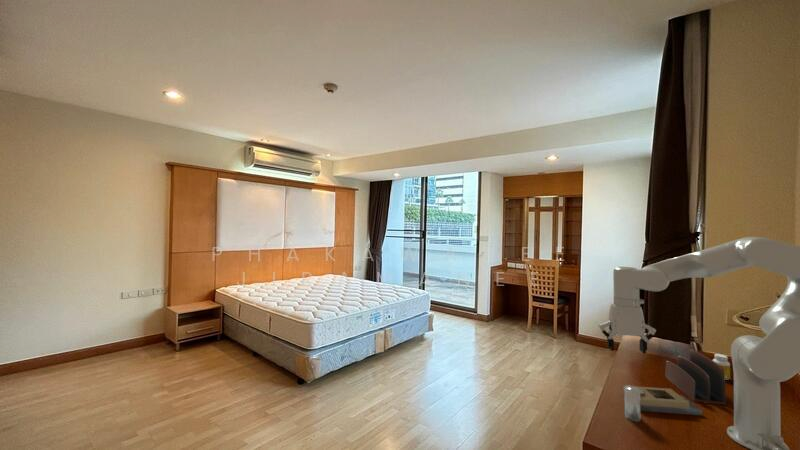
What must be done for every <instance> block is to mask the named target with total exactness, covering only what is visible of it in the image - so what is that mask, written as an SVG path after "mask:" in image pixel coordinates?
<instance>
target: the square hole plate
mask: <svg viewBox="0 0 800 450" xmlns="http://www.w3.org/2000/svg"><path fill="white" fill-rule="evenodd" d="M625 386H626V385H623V386H622V387H623V388H622V389H623V391H622V392H623V394H622V395H623V397H624V398H625ZM634 386H635V385H634ZM635 387H637V388H639V389H640V410H641V412H654V413H664V414H665V413H666V414H677V415H678V414H679V415H692V416H703V410H702V408H700V407H699V406H698V405H696V404H695V402H694V403H693V402H692V401H691V400H690V399H689V398H687V397H686V396H684V395H683V394H679V393H677V392H675V391H674V389H672V388H668V387H667V388H666V387H665V388H663V387H649V386H648V387H647V386H637V385H636V386H635Z"/></svg>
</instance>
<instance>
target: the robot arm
mask: <svg viewBox="0 0 800 450" xmlns="http://www.w3.org/2000/svg"><path fill="white" fill-rule="evenodd" d="M753 266H754V267H758V268H761V269H765V270H767V271H770V272H774V273H777V274H780V275H781V274H782V275H784V276H786V279H787V285H786V288H785V290H784V291H783V293H782V294H781V295H780V296H779V298H778V299H777V300H776V301H775V302H774V303H773V304H772V305H771V306H770V307H769V308H768V309H767V310H766V311H765V312H764V314H763V315H762V316H760V319H759V322H758V324H759V325H758V326H759V328H760V330H761V331H762V332H763V333H764V334H765V336H764V337H759V336H756V335H749V334H748V335H740V336H738V337H737V338H735V339H734V340H733V342H732V343H731V346H730V356H731V362H732V371H733V425H730V426H728V427H727V428H726V433H727V435H728V436H729V438H730V439H732V440H733V441H735V442H736V443H737V444H739V445H741V446H743V447H745V448H747V449H750V450H791V449H790V448H789V446H788V445H787V444H786V443H785V442H784V437H782V436H781V382H786V381H788V380H790V379H792V378H793V377H794V376H795V375H797V374H798V373H799V372H800V245H795V244H791V243H788V242H783V241H780V240H777V239H772V238H767V237H762V236H761V237H760V236H746V237H741V238H738V239H734V240H731V241H728V242H725V243H721V244H718V245H715V246H711V247H708V248H706V249H701V250H698V251H695V252H691V253H687V254H683V255H680V256H676V257H673V258H667V259H665V260H660V261H659V262H658V261H657V262H656V263H652V264H648V265H645V266H644V267H642V268H641V269H637V268H636V267H633V266H632V267H631V266H617V267H615V268H613V273H612V275H613V279H612V280H613V303H611V304H610V306H609V312H608V320H607V321H605V322H603V323H600V324H598V325H597V326H598V328H599V329H600V331H601V333H602V334H603V335H604V336H605V337H606V346H607V348H608V349H609V350H610V351H612V352H614V351H615V341H614V337H616V335H618V336H629V337H639V338H640V339H639V351H640V352H641V353H642V354H647V351H648V343H649V341H650V340H651V339H652V338H653V337H654V336H655V334H656V332H657V329H655V328H654V327H652V326H651V325H649V324H647V323H645V316H644V311H643V309H642V306H641V305H643V304H645V300H644V299H641V298H640V290H644V291H649V292H662V291H664V290H666V289H667V288H668V286H669V285H670V283H671V282H674V281H679V280H683V279H690V278H696V279H697V278H698V279H699V278H700V279H701V278H702V279H705V278H711V277H716V276H720V275H724V274H726V273H731V272H734V271H738V270H741V269H742V270H743V269H746V268H749V267H753ZM605 328H608V331H606V329H605ZM646 329H647V330H648V332H647V333H646Z"/></svg>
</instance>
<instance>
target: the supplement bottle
mask: <svg viewBox="0 0 800 450" xmlns="http://www.w3.org/2000/svg"><path fill="white" fill-rule="evenodd" d="M728 359H729V358H728V356H727V355H724V354H721V353H715V354H714V358H713V359H712V360H713V361H714V362H715V363H717V364H718V365H719V366H721V367H722V368H723V370H724V379H725V380H729V379H730V380H731V363H730V362H729V361H728Z"/></svg>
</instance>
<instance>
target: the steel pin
mask: <svg viewBox="0 0 800 450" xmlns="http://www.w3.org/2000/svg"><path fill="white" fill-rule="evenodd" d="M624 386H625V397H624V417H625V418H626V419H627V420H629V421H632V422H635V423H637V422H641V418H642V416H641V412H642V411H641V410H640V389H639V388H637V387H635V385H629V384H628V385H624Z"/></svg>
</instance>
